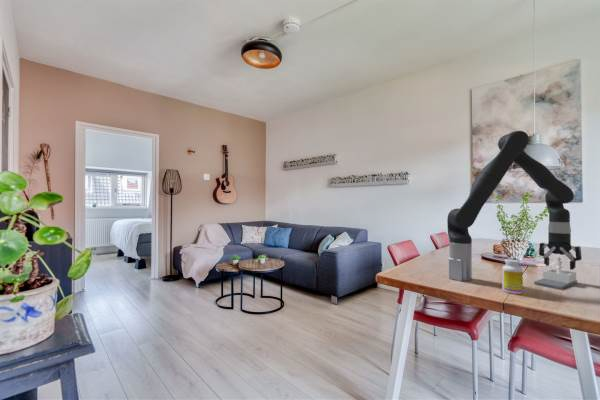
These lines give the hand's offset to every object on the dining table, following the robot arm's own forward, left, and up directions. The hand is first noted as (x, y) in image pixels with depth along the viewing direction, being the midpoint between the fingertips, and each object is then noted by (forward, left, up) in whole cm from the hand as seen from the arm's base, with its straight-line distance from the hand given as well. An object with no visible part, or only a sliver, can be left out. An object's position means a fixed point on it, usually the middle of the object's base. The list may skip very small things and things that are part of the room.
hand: (559, 267), depth 130 cm
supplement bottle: (-34, +5, -7) cm, 35 cm away
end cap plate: (-4, 0, -7) cm, 8 cm away
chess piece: (0, 0, -6) cm, 6 cm away
